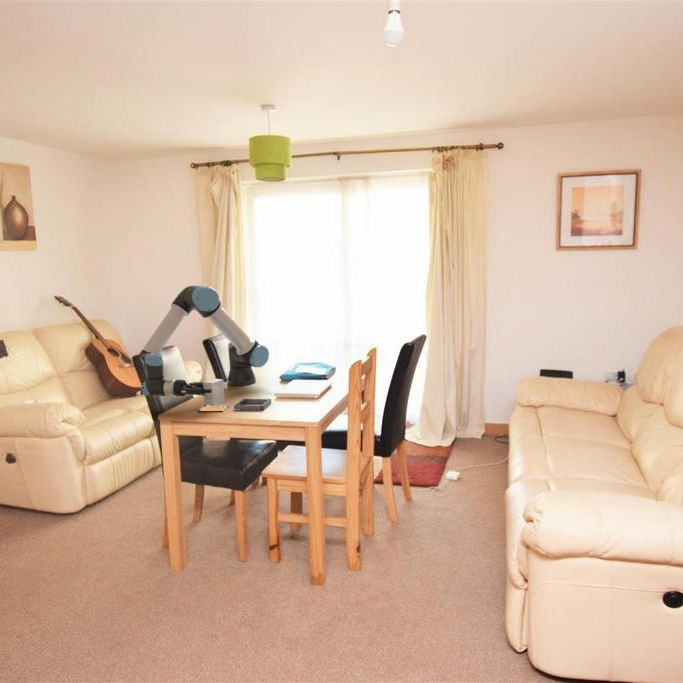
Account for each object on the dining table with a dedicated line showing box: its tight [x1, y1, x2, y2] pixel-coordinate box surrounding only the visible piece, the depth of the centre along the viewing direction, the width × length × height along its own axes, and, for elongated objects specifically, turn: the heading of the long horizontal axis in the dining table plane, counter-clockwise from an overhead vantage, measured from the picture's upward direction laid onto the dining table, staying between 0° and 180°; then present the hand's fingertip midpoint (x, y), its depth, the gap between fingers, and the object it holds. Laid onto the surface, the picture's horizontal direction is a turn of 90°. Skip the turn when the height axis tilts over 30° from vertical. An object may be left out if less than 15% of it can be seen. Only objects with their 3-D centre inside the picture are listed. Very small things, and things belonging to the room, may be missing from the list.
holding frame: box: [233, 398, 272, 411], centre depth 260 cm, size 12×13×2 cm
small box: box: [202, 378, 226, 406], centre depth 259 cm, size 8×6×10 cm
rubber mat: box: [217, 403, 232, 408], centre depth 260 cm, size 12×12×1 cm
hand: (223, 388), depth 258 cm, fingers closed on small box, 9 cm apart
